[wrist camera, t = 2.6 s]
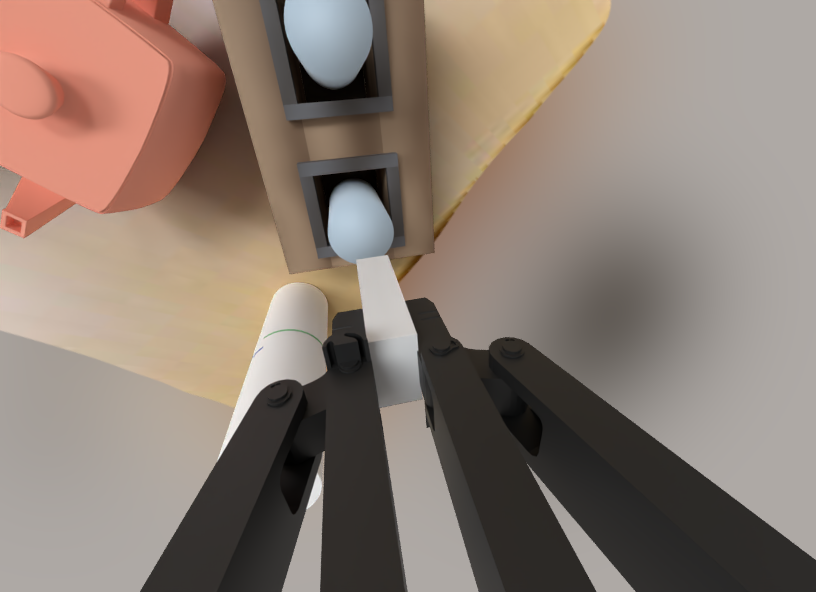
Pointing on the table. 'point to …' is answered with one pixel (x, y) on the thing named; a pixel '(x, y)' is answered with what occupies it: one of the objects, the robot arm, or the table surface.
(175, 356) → the table surface
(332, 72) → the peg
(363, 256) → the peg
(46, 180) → the teapot
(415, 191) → the wooden peg block
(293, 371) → the cylindrical container
